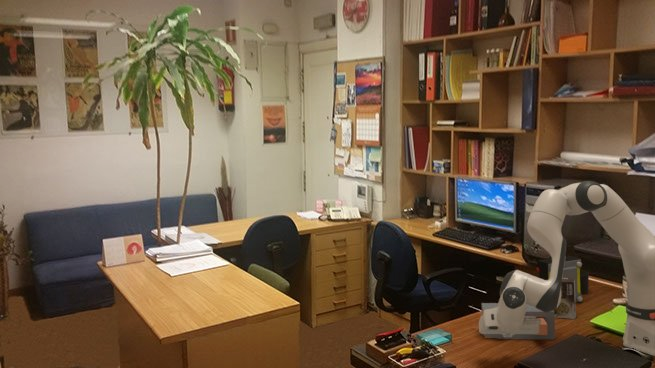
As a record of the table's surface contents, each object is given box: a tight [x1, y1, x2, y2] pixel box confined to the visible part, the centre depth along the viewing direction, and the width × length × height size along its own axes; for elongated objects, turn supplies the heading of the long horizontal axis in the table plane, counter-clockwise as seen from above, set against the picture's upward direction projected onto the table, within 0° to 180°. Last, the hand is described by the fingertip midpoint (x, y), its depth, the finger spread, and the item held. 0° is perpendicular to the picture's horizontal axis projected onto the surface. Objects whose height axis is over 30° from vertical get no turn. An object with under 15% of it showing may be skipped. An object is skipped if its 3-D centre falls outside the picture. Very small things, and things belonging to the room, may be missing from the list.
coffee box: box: [554, 278, 577, 320], centre depth 233 cm, size 9×6×16 cm
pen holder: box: [581, 269, 590, 296], centre depth 263 cm, size 9×9×10 cm
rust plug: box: [536, 317, 548, 335], centre depth 208 cm, size 11×4×4 cm, turn 169°
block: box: [481, 302, 556, 340], centre depth 217 cm, size 10×26×11 cm, turn 79°
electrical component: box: [536, 255, 584, 303], centre depth 250 cm, size 18×10×20 cm, turn 105°
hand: (507, 335), depth 198 cm, fingers closed
